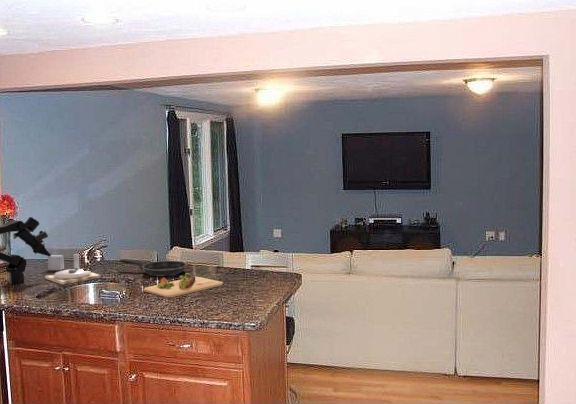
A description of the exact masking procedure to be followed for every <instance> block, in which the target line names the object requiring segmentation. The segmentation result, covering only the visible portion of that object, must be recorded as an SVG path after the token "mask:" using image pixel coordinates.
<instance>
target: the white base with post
mask: <svg viewBox="0 0 576 404" xmlns="http://www.w3.org/2000/svg"><path fill="white" fill-rule="evenodd" d="M79 255H80V254H78V253H74V254H73V255H72V257H73V269H71V268H70V269H63V270H58V271H56V272H55V273H54V275H55V278H59V279H72V278H80V277H85V276H88V275H90V274H91V272H92V271H91V270H90V271H84V270H83V269H84V268H80V256H79Z"/></svg>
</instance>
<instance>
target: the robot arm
mask: <svg viewBox="0 0 576 404" xmlns="http://www.w3.org/2000/svg"><path fill="white" fill-rule="evenodd" d="M39 226H40V222H39V221H38V220H37V219H36V218H34V217H32V216H29V217H28V218H27V220H26V221H25V222H23V220H14V219H12V220H10V221H8V222H6V223H5V224H3V225H0V235H3V234H7V233H11V232H14V233H13V235H12V236H13V239H14V240H16V239H17V238H18V239H20V240H22V242H24V243H25V245H28V246H29V247H30V248H31V249H32V253H34V254H35V255H37V254H40V255H43V256H47V257H48V256H51V255H52V254H51V253H50V252H49V251H48V249H47V248H46V246H45V243H44V239H46V238H49V235H48V233H47V231H46V230H44V231H43V230H40V231H39V233H38V234H37V235H36V234H33V232H35V230H36V229H37V228H38V227H39ZM0 262H3V263H6V265H7V266H6V267H5V271H6V273H8V279H9V281H8V284H11V285H18V284H23V283H24V284H25V274H24V272H25V271H26V267H27V259H25V256H21V255H18V254H10V255H8V254H6V253H4V252H1V251H0Z"/></svg>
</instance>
